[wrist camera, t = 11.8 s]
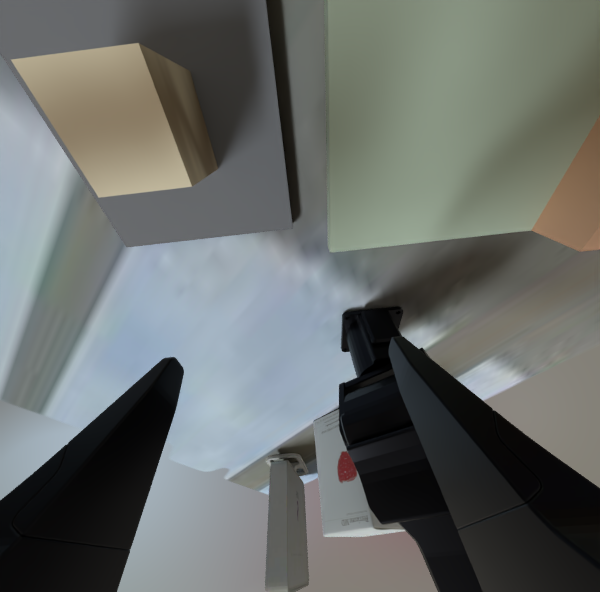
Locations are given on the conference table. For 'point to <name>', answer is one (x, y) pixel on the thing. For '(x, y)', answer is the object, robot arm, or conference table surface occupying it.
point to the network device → (286, 526)
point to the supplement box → (342, 486)
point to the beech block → (124, 117)
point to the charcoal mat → (211, 94)
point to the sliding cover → (462, 120)
